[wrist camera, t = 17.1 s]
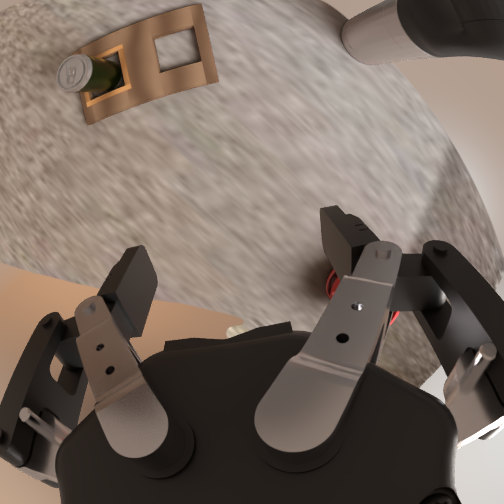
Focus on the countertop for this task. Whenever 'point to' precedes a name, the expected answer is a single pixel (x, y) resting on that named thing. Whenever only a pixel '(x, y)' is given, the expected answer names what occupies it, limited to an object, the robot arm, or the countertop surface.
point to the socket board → (149, 63)
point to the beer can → (87, 74)
